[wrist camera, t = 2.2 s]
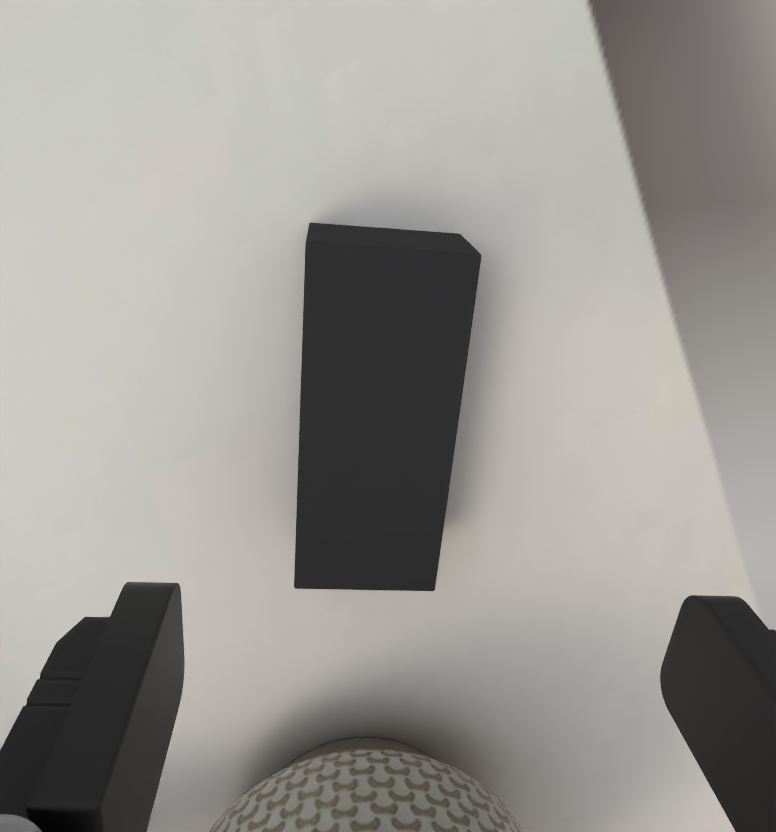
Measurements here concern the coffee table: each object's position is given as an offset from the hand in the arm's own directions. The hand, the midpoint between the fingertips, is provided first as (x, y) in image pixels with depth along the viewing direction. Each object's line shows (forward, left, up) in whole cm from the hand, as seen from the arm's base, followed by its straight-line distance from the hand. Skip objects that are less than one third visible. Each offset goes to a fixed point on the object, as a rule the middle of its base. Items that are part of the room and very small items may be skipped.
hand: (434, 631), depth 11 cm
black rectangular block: (0, -2, -14) cm, 15 cm away
